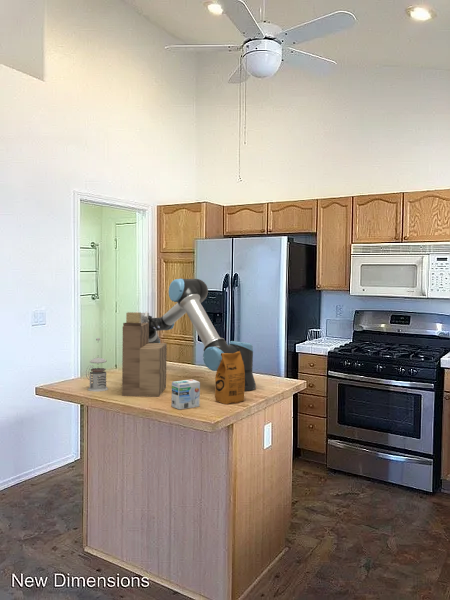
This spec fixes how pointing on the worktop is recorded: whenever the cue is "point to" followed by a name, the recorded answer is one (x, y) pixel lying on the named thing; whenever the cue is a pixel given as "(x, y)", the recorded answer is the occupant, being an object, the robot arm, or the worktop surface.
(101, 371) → the french press
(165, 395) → the worktop surface
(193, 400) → the light bulb box
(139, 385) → the stepped stand
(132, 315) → the wooden bar
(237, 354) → the coffee package
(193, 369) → the worktop surface
